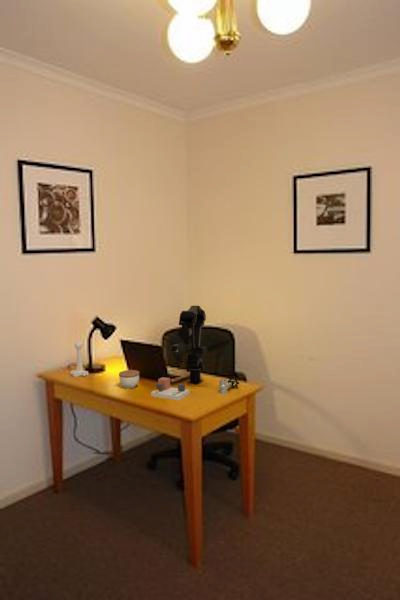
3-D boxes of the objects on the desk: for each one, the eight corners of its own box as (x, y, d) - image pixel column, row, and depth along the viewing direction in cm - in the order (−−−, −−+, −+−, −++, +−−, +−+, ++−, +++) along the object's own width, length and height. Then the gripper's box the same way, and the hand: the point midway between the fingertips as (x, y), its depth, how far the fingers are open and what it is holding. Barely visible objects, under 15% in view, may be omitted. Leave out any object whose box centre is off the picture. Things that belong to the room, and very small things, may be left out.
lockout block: (163, 386, 240) (162, 377, 240) (170, 387, 238) (170, 378, 237) (158, 388, 236) (158, 379, 236) (165, 390, 234) (165, 380, 234)
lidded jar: (115, 388, 246) (114, 370, 245) (128, 382, 255) (127, 366, 254) (131, 391, 241) (130, 373, 240) (143, 385, 250) (143, 368, 249)
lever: (179, 389, 234) (179, 383, 234) (184, 390, 233) (184, 384, 232) (178, 390, 233) (177, 384, 232) (183, 391, 231) (183, 385, 231)
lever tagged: (158, 389, 235) (157, 383, 234) (163, 390, 233) (163, 384, 233) (156, 390, 233) (156, 384, 233) (161, 391, 232) (161, 385, 232)
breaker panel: (162, 389, 241) (162, 383, 241) (189, 393, 234) (189, 387, 234) (150, 396, 232) (150, 389, 231) (178, 400, 224) (178, 393, 224)
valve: (226, 395, 231) (239, 389, 240) (226, 382, 230) (239, 376, 240) (215, 393, 235) (228, 387, 244) (215, 380, 234) (228, 374, 244)
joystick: (89, 374, 273) (88, 341, 270) (81, 378, 266) (79, 343, 264) (75, 372, 278) (73, 339, 275) (66, 376, 271) (64, 342, 269)
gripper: (164, 337, 234) (165, 367, 236) (197, 339, 226) (198, 371, 227) (175, 333, 244) (176, 362, 246) (207, 335, 236) (208, 365, 237)
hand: (189, 365), depth 239 cm, fingers open, 9 cm apart
